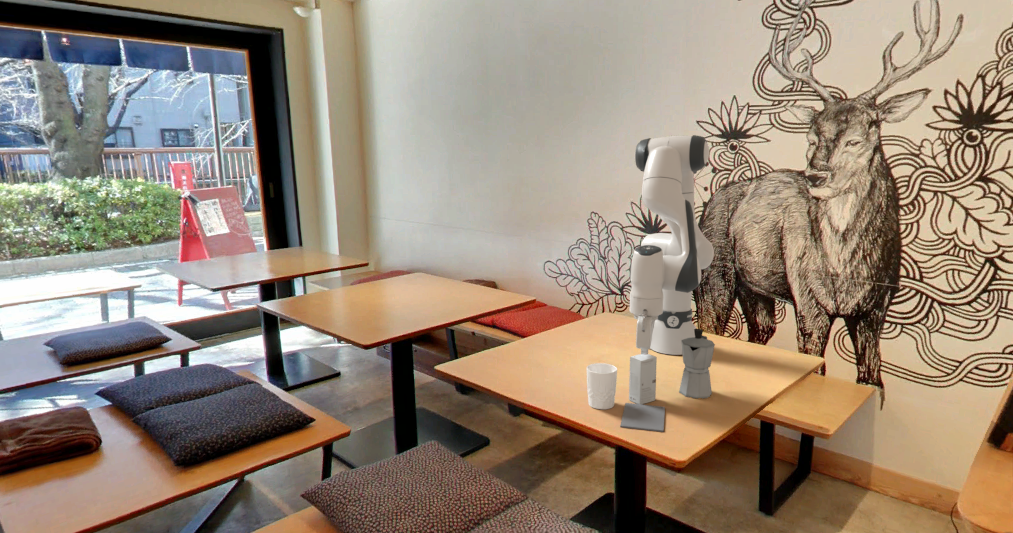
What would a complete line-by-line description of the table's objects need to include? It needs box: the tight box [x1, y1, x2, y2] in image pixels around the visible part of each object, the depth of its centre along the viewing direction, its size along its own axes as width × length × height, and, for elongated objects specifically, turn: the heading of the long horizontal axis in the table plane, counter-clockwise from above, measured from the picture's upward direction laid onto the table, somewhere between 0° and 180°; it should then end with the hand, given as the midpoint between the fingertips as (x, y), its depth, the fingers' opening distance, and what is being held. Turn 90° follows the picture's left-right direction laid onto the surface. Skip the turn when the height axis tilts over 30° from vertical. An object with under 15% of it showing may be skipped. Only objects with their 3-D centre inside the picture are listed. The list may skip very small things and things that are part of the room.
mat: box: [619, 402, 666, 433], centre depth 146 cm, size 14×10×1 cm
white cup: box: [586, 362, 618, 410], centre depth 153 cm, size 8×8×10 cm
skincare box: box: [628, 353, 657, 405], centre depth 155 cm, size 6×4×12 cm
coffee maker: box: [678, 328, 716, 400], centre depth 160 cm, size 15×9×18 cm, turn 151°
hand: (644, 355), depth 161 cm, fingers closed
